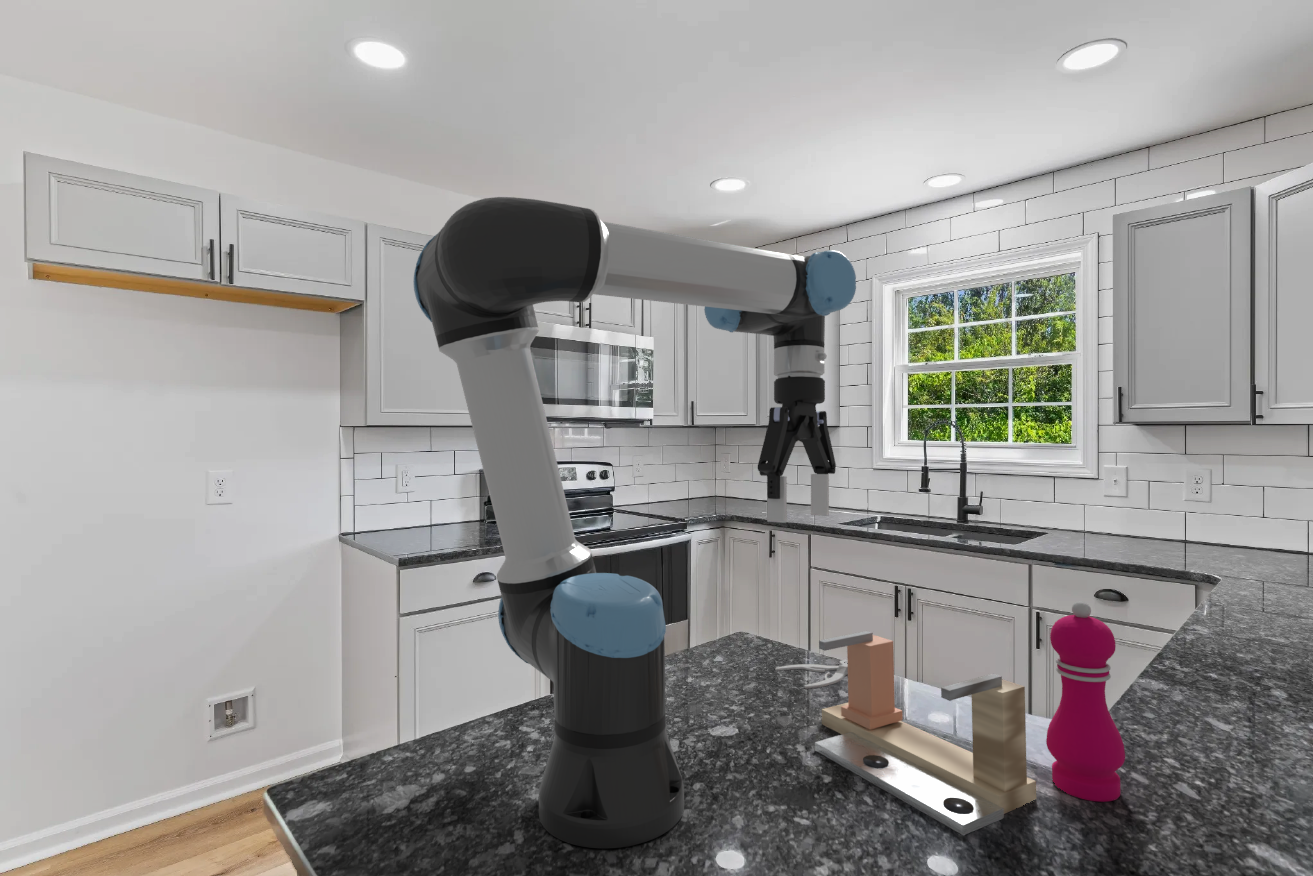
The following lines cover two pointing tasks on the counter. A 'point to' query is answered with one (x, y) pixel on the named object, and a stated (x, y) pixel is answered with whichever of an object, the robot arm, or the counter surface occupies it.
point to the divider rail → (983, 772)
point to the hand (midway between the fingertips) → (799, 518)
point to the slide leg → (868, 679)
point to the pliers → (838, 676)
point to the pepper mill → (1084, 710)
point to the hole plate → (911, 783)
